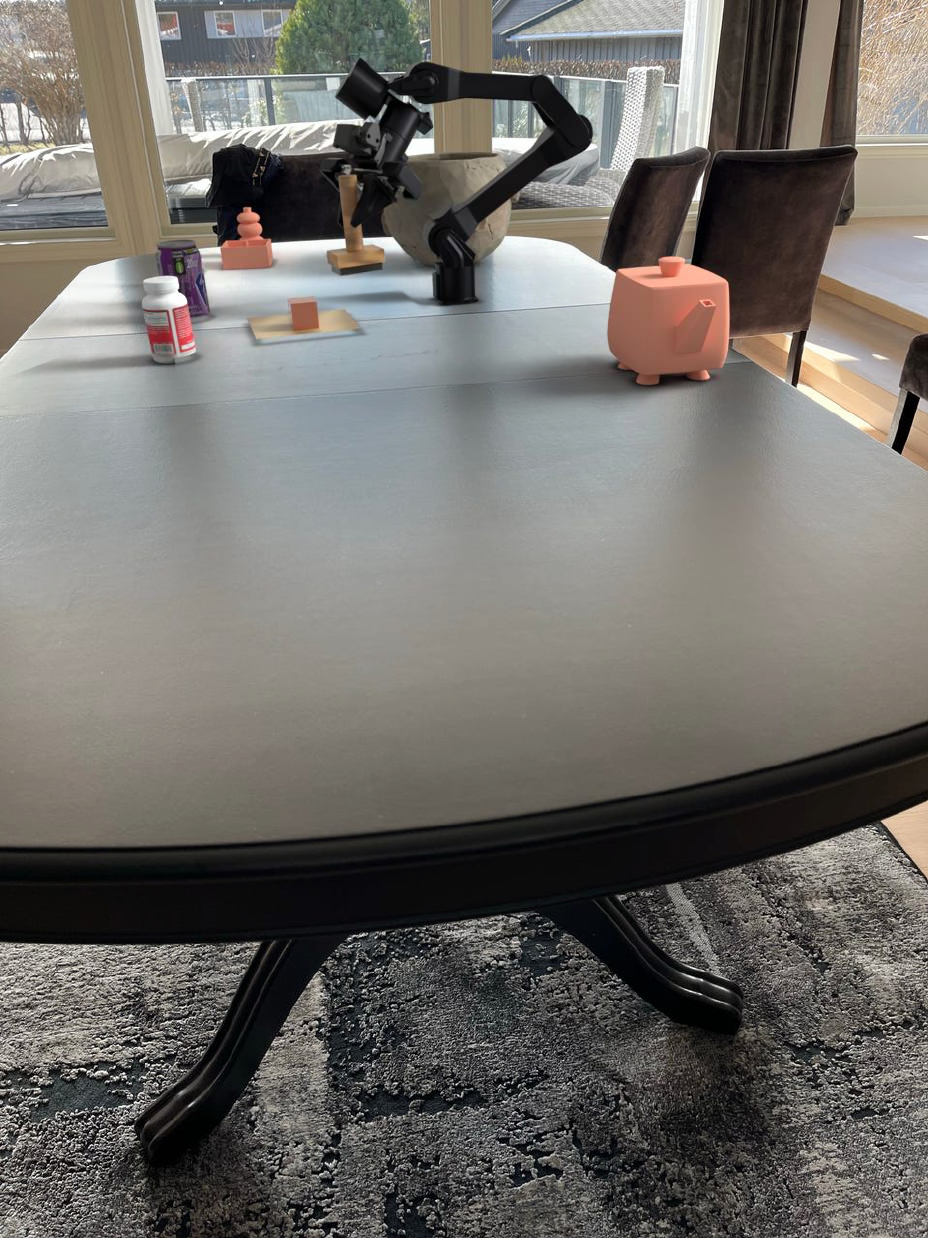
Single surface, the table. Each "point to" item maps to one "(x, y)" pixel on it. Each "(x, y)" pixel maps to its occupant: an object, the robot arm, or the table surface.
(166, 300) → the pill bottle
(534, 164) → the robot arm
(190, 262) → the beverage can
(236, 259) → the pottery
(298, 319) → the cube
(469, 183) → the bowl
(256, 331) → the board
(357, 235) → the wooden stamp
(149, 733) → the table surface
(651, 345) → the teapot
